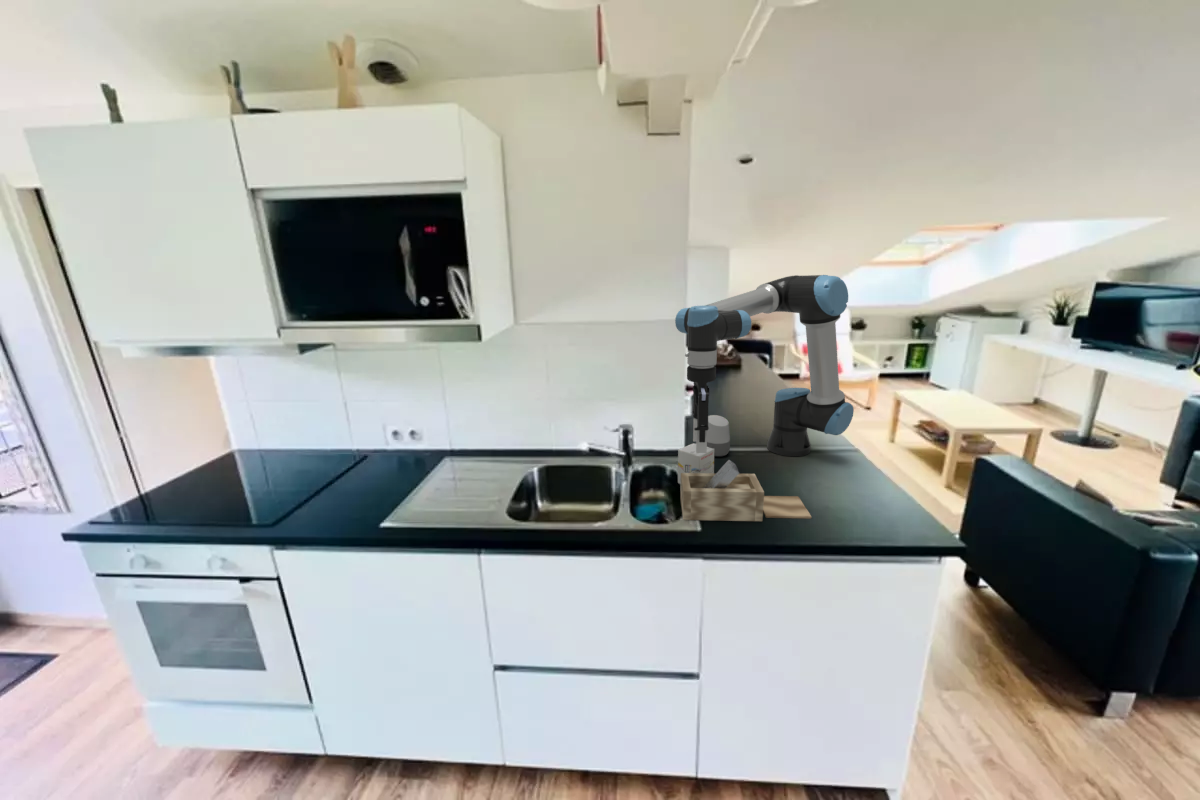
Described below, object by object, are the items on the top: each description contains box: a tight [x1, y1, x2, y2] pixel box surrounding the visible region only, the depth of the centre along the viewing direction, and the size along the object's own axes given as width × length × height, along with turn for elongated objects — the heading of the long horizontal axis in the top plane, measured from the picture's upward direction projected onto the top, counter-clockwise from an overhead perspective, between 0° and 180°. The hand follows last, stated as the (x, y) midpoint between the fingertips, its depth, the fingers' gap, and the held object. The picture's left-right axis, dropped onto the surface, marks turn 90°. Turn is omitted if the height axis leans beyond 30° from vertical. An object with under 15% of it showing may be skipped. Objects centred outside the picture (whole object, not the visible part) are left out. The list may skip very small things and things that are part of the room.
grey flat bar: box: [703, 459, 740, 489], centre depth 136 cm, size 16×6×2 cm
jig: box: [680, 472, 765, 522], centre depth 137 cm, size 21×12×9 cm, turn 85°
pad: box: [763, 495, 812, 519], centre depth 138 cm, size 12×12×1 cm
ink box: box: [677, 443, 715, 485], centre depth 154 cm, size 9×8×12 cm
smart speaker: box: [707, 414, 731, 458], centre depth 177 cm, size 10×9×14 cm
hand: (699, 446), depth 134 cm, fingers open, 8 cm apart
